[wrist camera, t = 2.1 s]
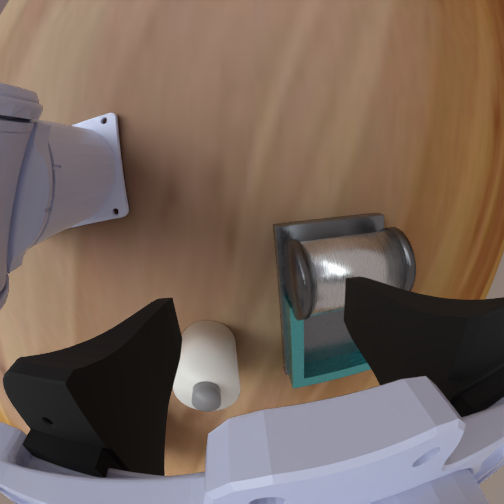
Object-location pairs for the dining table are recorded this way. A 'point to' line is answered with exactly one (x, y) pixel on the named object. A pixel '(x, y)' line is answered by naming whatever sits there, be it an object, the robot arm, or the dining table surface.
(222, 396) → the white capped bottle
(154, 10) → the dining table surface
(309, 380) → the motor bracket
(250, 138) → the dining table surface
